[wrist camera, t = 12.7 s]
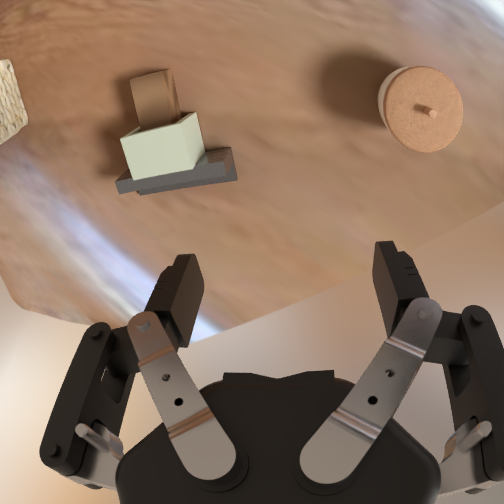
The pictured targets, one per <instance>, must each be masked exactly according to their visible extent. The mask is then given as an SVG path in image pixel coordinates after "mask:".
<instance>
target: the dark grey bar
mask: <svg viewBox="0 0 504 504" xmlns="http://www.w3.org/2000/svg"><path fill="white" fill-rule="evenodd" d="M229 181H237V174H236V169H235V165H234V160H233V155H232V150H231V147H228V148H221V149H215V150H209V151H205V152H204V154H203V155H202V157H201V158H200V159H199V161H198V162H197V163H196V165H195V166H194V168H193V169H191V170H185V171H179V172H174V173H168V174H163V175H158V176H153V177H148V178H143V179H138V180H133V178H132V175H131V172H130V169H128V170H127V171H126V172H125V173H124V174H123V175H122V176H120V177H119V178H118V179H117V180H116V181H115V184H116V187H117V189H118V192H119V194H123V193H128V192H133V191H139V194H140V195H146V194H151V193H157V192H163V191H169V190H175V189H181V188H188V187H194V186H201V185H208V184H215V183H222V182H229Z"/></svg>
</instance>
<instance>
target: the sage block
mask: <svg viewBox="0 0 504 504" xmlns="http://www.w3.org/2000/svg"><path fill="white" fill-rule="evenodd" d="M120 141H121V144H122V147H123V150H124V153H125V157H126V160H127V163H128V166H129V169H130V172H131V175H132V178H133V180H138V179H143V178H148V177H153V176H158V175H163V174H168V173H174V172H179V171H185V170H191V169H193V168H194V166H195V165H196V163H197V162H198V161H199V159H200V158H201V157H202V155H203V154H204V152H205V149H204V145H203V141H202V136H201V132H200V128H199V124H198V119H197V115H196V112H194V113H189V114H188V115H186V116H185V117H183V118H182V119H181V120H179V121H178V122H177V123H175V124H170V125H166V126H162V127H158V128H154V129H150V130H146V131H142V132H141V128H140V126H139V127H138V128H136V129H135V130H133V131H131V132H130V133H128V134H127V135H125V136H124V137H122V138H121V139H120Z"/></svg>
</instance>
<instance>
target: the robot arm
mask: <svg viewBox="0 0 504 504" xmlns="http://www.w3.org/2000/svg"><path fill="white" fill-rule="evenodd" d="M372 272H373V273H372V274H373V283H374V286H375V290H376V293H377V297H378V301H379V305H380V309H381V312H382V316H383V320H384V324H385V328H386V332H387V337H388V338H387V339H386V340H385V341H384V343H383V344H382V346H381V348H380V349H379V351H378V352H377V354H376V355H375V357H374V358H373V360H372V362H371V363H370V364H369V366H368V367H367V369H366V370H365V372H364V373H363V375H362V376H361V377H360V379H359V380H358V382H357V383H356V385H355V384H354V383H352V382H349V381H347V380H343V379H340V378H335V377H334V370H324V371H307V372H303V373H299V374H295V375H291V376H287V377H283V378H278V379H276V378H271V377H267V376H262V375H257V374H253V373H224V375H223V380H221V381H217V382H214V383H212V384H209V385H207V386H205V387H203V388H202V389H200V390H199V391H198V389H197V388H196V386H195V384H194V382H193V381H192V379H191V377H190V375H189V374H188V372H187V370H186V369H185V367H184V365H183V363H182V361H181V360H180V358H179V356H178V354H177V351H178V348H179V347H184V348H187V347H188V345H189V341H190V338H191V334H192V331H193V327H194V324H195V320H196V317H197V313H198V310H199V307H200V303H201V300H202V296H203V293H204V280H203V277H202V274H201V271H200V267H199V264H198V261H197V258H196V256H195V254H181V255H177V257H176V259H175V261H174V264H173V266H168V267H167V268H166V269H165V270H164V271H163V272H162V273H161V274H160V277H159V279H158V281H157V283H156V285H155V287H154V290H153V292H152V294H151V296H150V298H149V301H148V303H147V305H146V307H145V310H144V312H141V313H138V314H136V315H135V316H133V317H132V318H131V320H130V321H129V323H128V325H127V326H125V327H121V328H116V329H111V328H110V326H109V325H108V324H107V323H104V322H99V323H95V324H93V325H92V326H90V327H89V328H88V329H87V330H86V332H85V333H84V335H83V338H82V340H81V342H80V344H79V346H78V349H77V351H76V353H75V355H74V358H73V360H72V362H71V365H70V367H69V370H68V372H67V374H66V377H65V379H64V382H63V384H62V387H61V389H60V392H59V394H58V397H57V399H56V402H55V405H54V408H53V410H52V413H51V416H50V419H49V421H48V424H47V427H46V430H45V433H44V436H43V439H42V442H41V446H40V451H39V452H40V458H41V460H42V462H43V463H44V464H45V465H46V466H48V467H50V468H51V469H53V470H55V471H57V472H58V473H59V474H61V475H63V476H65V477H66V478H69V479H70V480H73V481H74V482H76V483H78V484H82V485H85V486H87V487H89V488H91V489H101V488H103V487H104V488H108V489H111V490H115V491H117V492H118V495H119V500H120V504H434V503H435V500H436V499H437V498H439V497H443V496H447V495H451V494H455V493H459V492H463V491H465V492H466V493H469V494H476V493H479V492H481V491H483V490H485V489H487V488H490V487H492V486H494V485H496V484H498V483H500V482H502V481H503V480H504V348H503V345H502V343H501V340H500V338H499V335H498V332H497V330H496V327H495V325H494V322H493V320H492V318H491V316H490V314H489V313H488V311H486V310H485V309H484V308H482V307H480V306H477V305H470V306H467V307H466V308H465V309H464V310H463V312H462V314H459V313H451V312H446V311H443V310H442V308H441V307H440V305H439V304H438V303H437V302H436V301H434V300H432V299H430V298H429V296H428V293H427V291H426V289H425V286H424V284H423V282H422V279H421V277H420V275H419V273H418V270H417V268H416V266H415V264H414V262H413V259H412V258H411V257H410V256H409V255H408V254H407V253H406V252H405V251H402V252H398V251H397V249H396V247H395V244H394V242H393V241H379V242H376V243H375V251H374V261H373V271H372ZM423 361H425V362H431V363H438V364H442V366H443V369H444V374H445V379H446V384H447V389H448V394H449V398H450V404H451V410H452V416H453V422H454V429H455V432H454V434H452V435H451V436H450V438H449V439H448V440H447V442H446V444H445V451H444V457H443V460H442V462H441V463H440V464H438V462H437V460H436V459H435V457H434V456H433V455H432V454H431V453H430V452H429V451H428V450H427V449H425V448H424V447H423V446H422V445H421V444H420V443H419V442H418V441H417V440H416V439H415V438H414V437H412V436H411V435H410V434H409V433H408V432H407V431H406V430H405V429H404V428H403V427H402V426H401V425H400V424H399V423H398V422H397V421H396V420H394V419H393V418H392V417H393V416H394V414H395V412H396V411H397V409H398V407H399V405H400V404H401V402H402V400H403V398H404V397H405V395H406V393H407V391H408V389H409V388H410V386H411V384H412V382H413V380H414V378H415V376H416V374H417V372H418V370H419V368H420V366H421V364H422V363H423ZM104 370H105V372H104ZM138 372H141V373H142V375H143V378H144V380H145V383H146V385H147V387H148V390H149V392H150V394H151V396H152V399H153V401H154V403H155V405H156V407H157V410H158V411H159V414H160V416H161V418H162V420H163V422H162V423H161V424H160V425H159V426H158V427H157V428H155V429H154V430H153V431H152V432H151V433H150V434H148V435H147V436H146V437H145V438H144V439H143V440H141V441H140V442H139V443H138V444H137V445H135V446H134V447H133V448H132V449H130V450H129V451H128V452H127V453H126V454H125V455H124V453H123V444H122V442H121V440H120V439H119V438H118V437H119V433H120V428H121V425H122V421H123V416H124V413H125V409H126V406H127V402H128V398H129V395H130V391H131V388H132V384H133V381H134V377H135V374H136V373H138ZM103 373H104V375H103ZM102 376H103V378H102ZM101 379H102V380H101Z"/></svg>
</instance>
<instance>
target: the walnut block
mask: <svg viewBox="0 0 504 504" xmlns="http://www.w3.org/2000/svg"><path fill="white" fill-rule="evenodd" d="M129 81H130V86H131V90H132V95H133V99H134V103H135V108H136V112H137V116H138V120H139V124H140V128H141V132H142V131H146V130H150V129H154V128H158V127H162V126H166V125H170V124H175V123H177V122H178V121H179V120H181V119H182V117H181V112H180V107H179V102H178V97H177V93H176V88H175V83H174V77H173V72H172V69H168V70H163V71H158V72H155V73H151V74H147V75H144V76H140V77H137V78H134V79H130V80H129Z"/></svg>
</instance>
